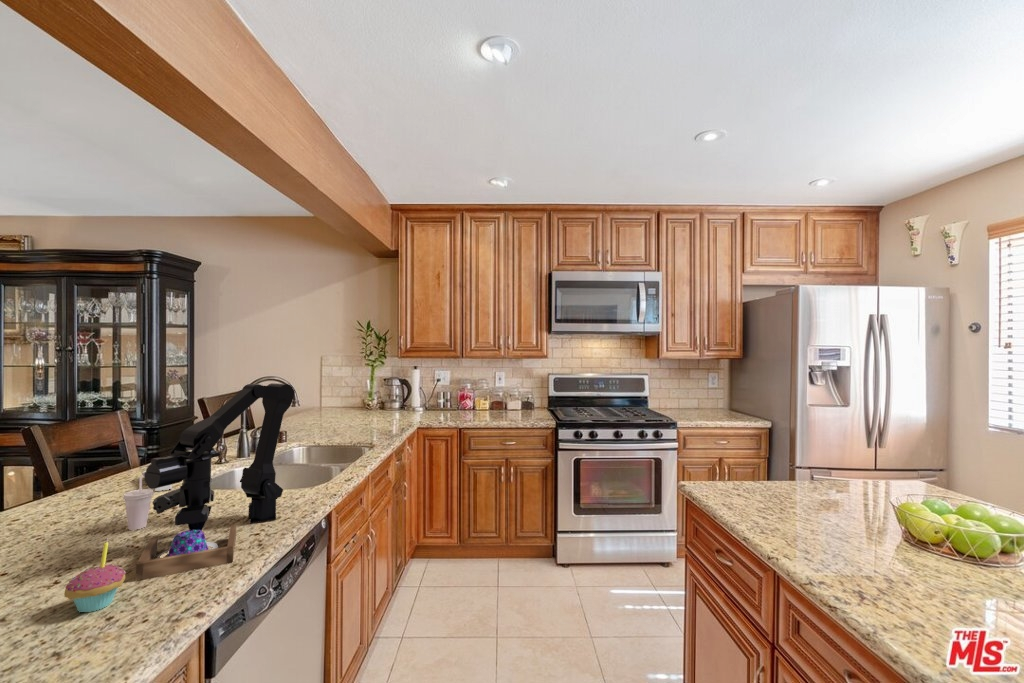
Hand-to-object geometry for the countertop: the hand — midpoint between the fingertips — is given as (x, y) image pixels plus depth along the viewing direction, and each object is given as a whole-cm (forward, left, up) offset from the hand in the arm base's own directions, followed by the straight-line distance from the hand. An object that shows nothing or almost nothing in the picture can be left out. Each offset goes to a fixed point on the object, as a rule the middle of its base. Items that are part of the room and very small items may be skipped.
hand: (195, 540), depth 110 cm
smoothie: (+15, -20, -1) cm, 25 cm away
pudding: (+1, +5, -2) cm, 6 cm away
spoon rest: (+17, -67, -2) cm, 69 cm away
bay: (0, +8, -1) cm, 8 cm away
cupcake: (+13, +23, -2) cm, 27 cm away
